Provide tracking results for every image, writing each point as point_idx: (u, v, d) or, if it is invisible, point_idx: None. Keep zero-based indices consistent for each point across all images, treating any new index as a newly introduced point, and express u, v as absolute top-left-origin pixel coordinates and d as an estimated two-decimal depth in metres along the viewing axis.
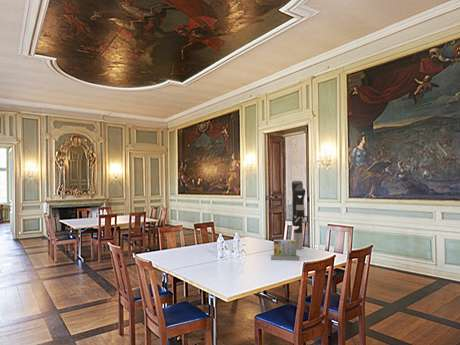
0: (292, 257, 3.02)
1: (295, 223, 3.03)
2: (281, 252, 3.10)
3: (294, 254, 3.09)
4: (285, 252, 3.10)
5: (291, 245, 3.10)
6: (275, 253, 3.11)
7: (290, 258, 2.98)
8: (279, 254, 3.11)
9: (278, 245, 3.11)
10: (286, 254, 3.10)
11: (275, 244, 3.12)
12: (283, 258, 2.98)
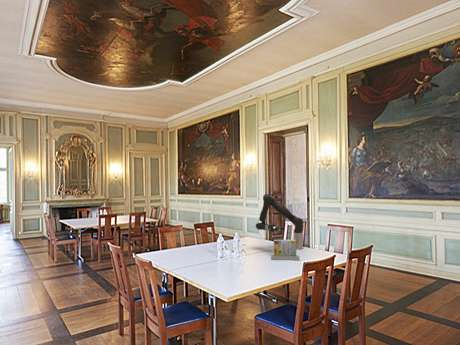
0: (292, 257, 3.02)
1: None
2: (281, 252, 3.10)
3: (294, 254, 3.09)
4: (285, 252, 3.10)
5: (291, 245, 3.10)
6: (275, 253, 3.11)
7: (290, 258, 2.98)
8: (279, 254, 3.11)
9: (278, 245, 3.11)
10: (286, 254, 3.10)
11: (275, 244, 3.12)
12: (283, 258, 2.98)
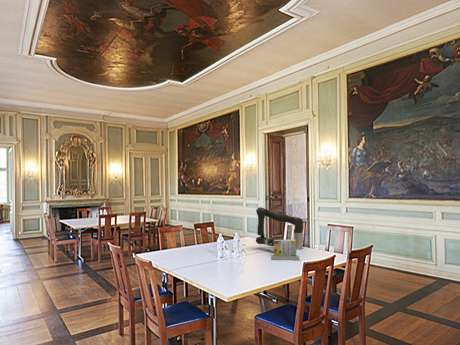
0: (292, 257, 3.02)
1: None
2: (281, 252, 3.10)
3: (294, 254, 3.09)
4: (285, 252, 3.10)
5: (291, 245, 3.10)
6: (275, 253, 3.11)
7: (290, 258, 2.98)
8: (279, 254, 3.11)
9: (278, 245, 3.11)
10: (286, 254, 3.10)
11: (275, 244, 3.12)
12: (283, 258, 2.98)
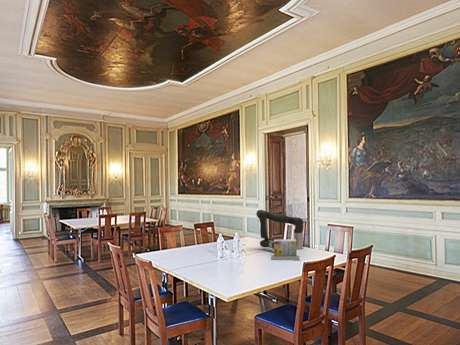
0: (292, 257, 3.02)
1: None
2: (281, 252, 3.09)
3: (294, 254, 3.09)
4: (285, 252, 3.09)
5: (291, 245, 3.08)
6: (275, 253, 3.10)
7: (290, 258, 2.98)
8: (279, 254, 3.10)
9: (278, 245, 3.09)
10: (286, 254, 3.09)
11: (275, 244, 3.09)
12: (283, 258, 2.98)
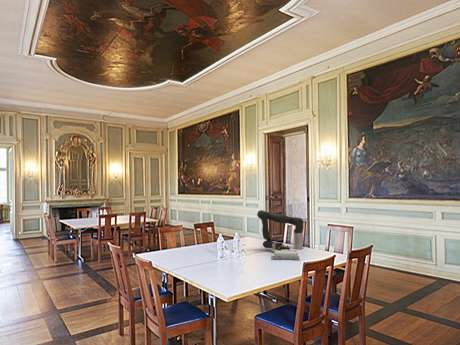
0: None
1: None
2: None
3: None
4: None
5: None
6: None
7: None
8: None
9: None
10: None
11: None
12: None
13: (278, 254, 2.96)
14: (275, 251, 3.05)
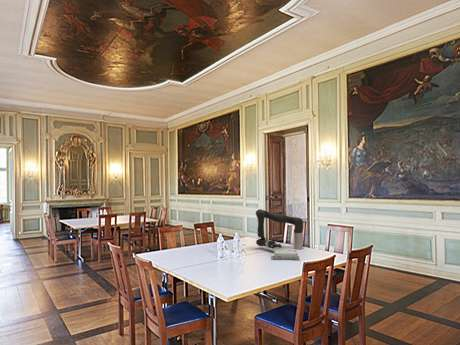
0: None
1: (280, 246, 3.24)
2: None
3: None
4: None
5: None
6: None
7: None
8: None
9: None
10: None
11: None
12: None
13: (278, 254, 2.96)
14: (275, 251, 3.05)
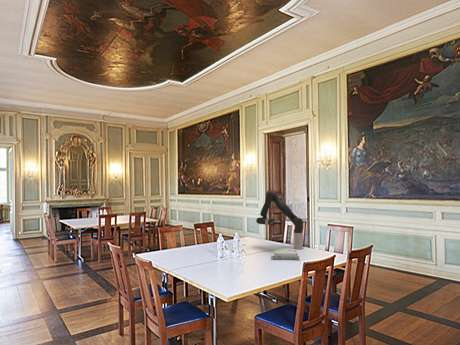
0: None
1: None
2: None
3: None
4: None
5: None
6: None
7: None
8: None
9: None
10: None
11: None
12: None
13: (278, 254, 2.96)
14: (275, 251, 3.05)
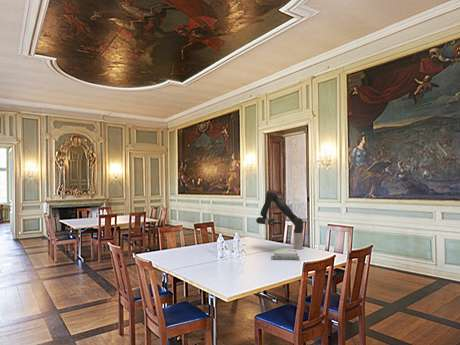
0: None
1: (279, 223, 3.27)
2: None
3: None
4: None
5: None
6: None
7: None
8: None
9: None
10: None
11: None
12: None
13: (278, 254, 2.96)
14: (275, 251, 3.05)
